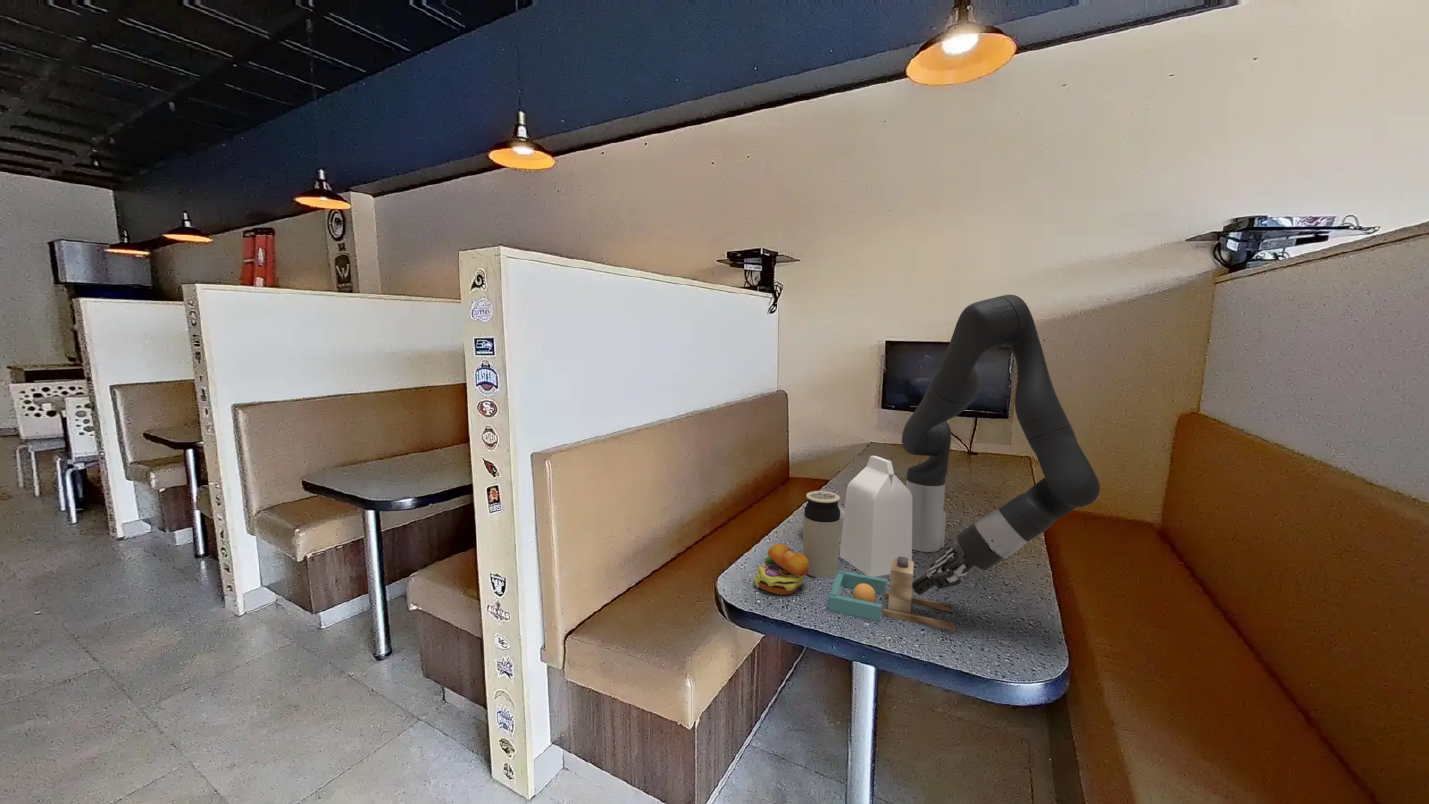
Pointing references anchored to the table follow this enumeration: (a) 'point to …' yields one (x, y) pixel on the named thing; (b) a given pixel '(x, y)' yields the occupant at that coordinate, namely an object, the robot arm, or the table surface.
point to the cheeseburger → (782, 570)
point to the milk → (876, 519)
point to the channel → (922, 619)
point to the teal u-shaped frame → (854, 605)
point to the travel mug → (821, 533)
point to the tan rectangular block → (901, 585)
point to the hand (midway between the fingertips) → (915, 589)
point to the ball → (864, 593)
